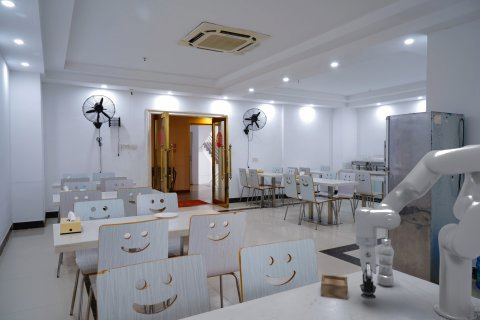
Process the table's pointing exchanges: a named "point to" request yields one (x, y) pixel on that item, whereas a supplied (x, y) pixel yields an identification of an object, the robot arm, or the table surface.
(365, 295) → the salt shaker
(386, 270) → the plastic bottle
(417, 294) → the table surface
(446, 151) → the robot arm
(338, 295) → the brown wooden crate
